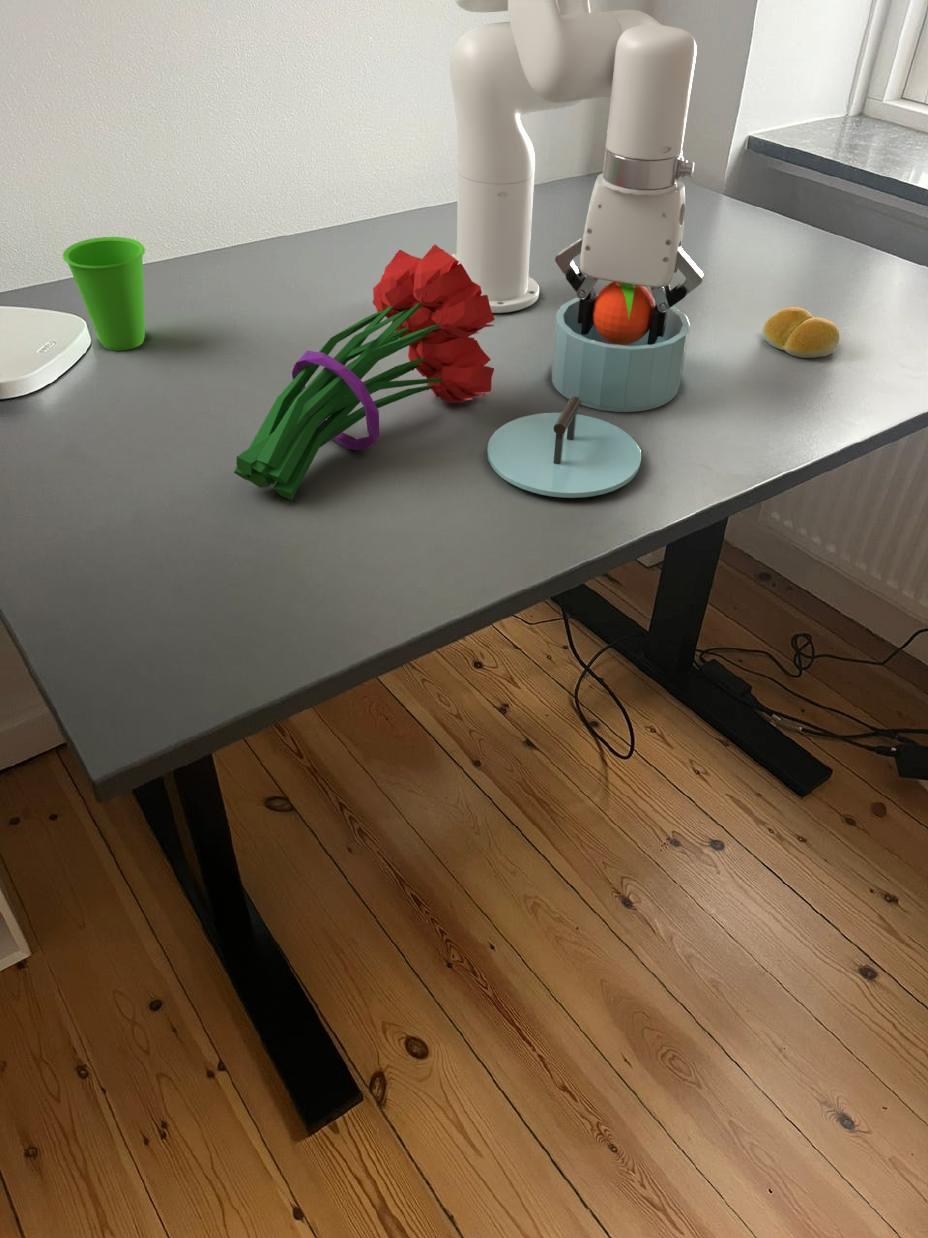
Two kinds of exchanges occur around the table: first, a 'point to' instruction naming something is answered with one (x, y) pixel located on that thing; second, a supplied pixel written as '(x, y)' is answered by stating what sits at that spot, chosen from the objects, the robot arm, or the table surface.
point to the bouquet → (438, 348)
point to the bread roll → (801, 333)
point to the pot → (617, 364)
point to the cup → (111, 288)
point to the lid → (564, 454)
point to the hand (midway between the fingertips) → (619, 334)
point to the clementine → (622, 312)
